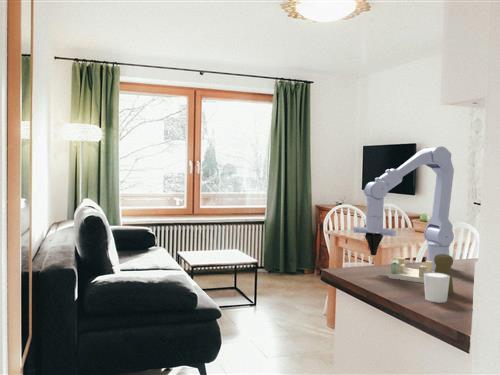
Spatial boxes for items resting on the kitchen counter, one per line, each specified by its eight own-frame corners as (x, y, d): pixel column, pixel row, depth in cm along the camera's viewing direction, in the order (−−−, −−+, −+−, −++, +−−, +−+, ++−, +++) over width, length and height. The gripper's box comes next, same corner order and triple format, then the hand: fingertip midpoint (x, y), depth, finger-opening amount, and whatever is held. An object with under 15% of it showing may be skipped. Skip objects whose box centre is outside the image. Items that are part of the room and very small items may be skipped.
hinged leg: (398, 273, 149) (398, 263, 149) (390, 272, 150) (390, 263, 150) (399, 267, 158) (399, 258, 157) (392, 267, 158) (392, 258, 158)
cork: (455, 294, 131) (457, 257, 131) (433, 293, 133) (434, 256, 132) (451, 289, 137) (452, 253, 137) (429, 288, 138) (430, 252, 138)
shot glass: (417, 296, 129) (418, 272, 129) (438, 295, 131) (439, 271, 130) (433, 304, 122) (433, 278, 122) (454, 302, 124) (455, 277, 124)
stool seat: (398, 271, 161) (398, 257, 160) (434, 275, 154) (434, 261, 154) (388, 277, 151) (388, 262, 150) (426, 283, 144) (426, 267, 144)
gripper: (350, 215, 159) (349, 254, 160) (392, 218, 151) (391, 259, 152) (357, 214, 165) (356, 251, 166) (398, 216, 157) (396, 255, 158)
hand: (373, 254), depth 159 cm, fingers closed
